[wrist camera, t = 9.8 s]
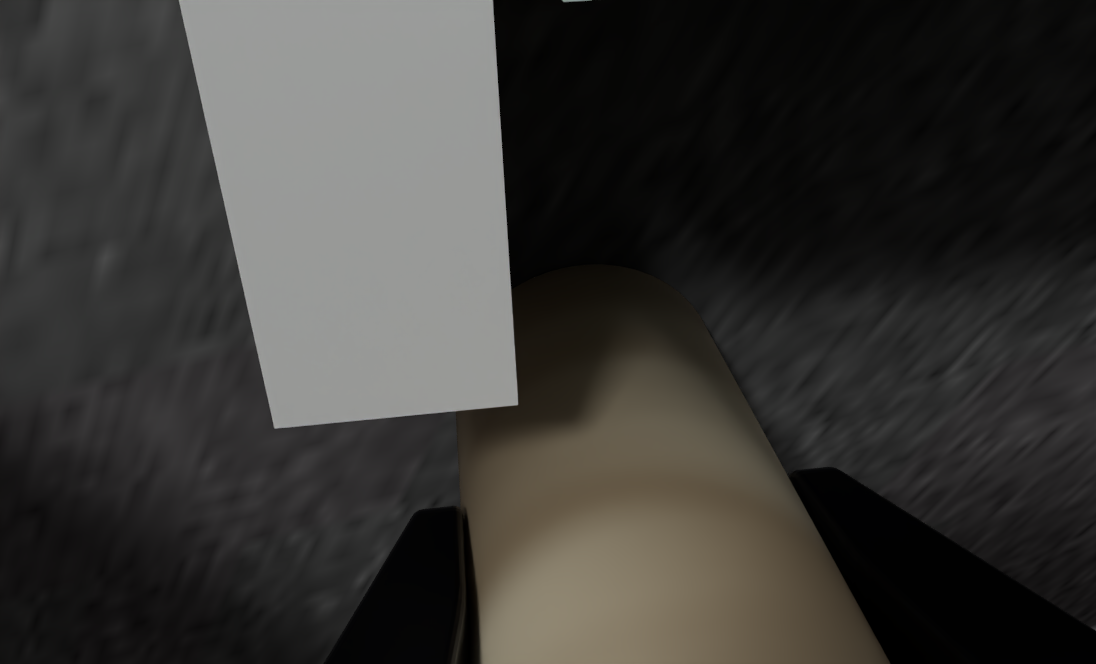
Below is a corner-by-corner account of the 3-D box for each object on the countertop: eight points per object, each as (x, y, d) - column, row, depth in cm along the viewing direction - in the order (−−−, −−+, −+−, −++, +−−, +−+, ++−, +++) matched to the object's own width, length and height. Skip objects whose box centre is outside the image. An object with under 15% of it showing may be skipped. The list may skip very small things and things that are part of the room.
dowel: (465, 498, 11) (532, 1609, 4) (442, 276, 10) (488, 1430, 3) (707, 473, 11) (1143, 1488, 5) (721, 253, 10) (1398, 1251, 3)
